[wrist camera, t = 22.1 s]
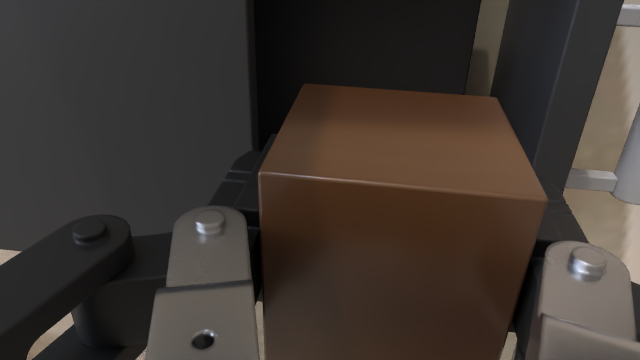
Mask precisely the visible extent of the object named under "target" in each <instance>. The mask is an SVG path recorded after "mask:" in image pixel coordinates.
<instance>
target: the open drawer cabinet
mask: <svg viewBox="0 0 640 360" xmlns="http://www.w3.org/2000/svg"><path fill="white" fill-rule="evenodd" d="M623 2H624V0H510V1H509V6H508V11H507V16H506V21H505V25H504V30H503V35H502V40H501V45H500V49H499V54H498V59H497V64H496V69H495V73H494V78H493V83H492V88H491V93H490V97H496V98H498V100H499V102H500V104H501V106H502V108H503V110H504V112H505V114H506V116H507V118H508V120H509V122H510V124H511V126H512V128H513V130H514V132H515V134H516V136H517V138H518V140H519V142H520V144H521V146H522V148H523V150H524V152H525V154H526V156H527V158H528V160H529V162H530V164H531V166H532V168H533V170H534V172H535V174H536V176H542V177H544V178H546V179H547V180H548V181H550V182H551V183H552V184H553V185H555V186H556V187H557V188H559V190H560V192H561V194H563V191H564V188H573V189H585V190H596V191H607V192H610V194H611V195H612V196H614V197H615V198H617V199H619V200H621V201H623V202H626V203H630V204H635V205H640V104H639V107H638V110H637V112H636V115H635V118H634V120H633V123H632V126H631V129H630V131H629V134H628V137H627V139H626V142H625V145H624V148H623V150H622V153H621V156H620V158H619V161H618V164H617V167H616V169H615V172H614V173H613V172H607V171H595V170H583V169H571V166H572V163H573V160H574V157H575V153H576V150H577V147H578V144H579V141H580V138H581V135H582V131H583V128H584V125H585V122H586V119H587V116H588V112H589V109H590V106H591V103H592V100H593V97H594V94H595V90H596V87H597V84H598V81H599V78H600V75H601V71H602V68H603V65H604V62H605V59H606V56H607V53H608V49H609V46H610V43H611V40H612V37H613V34H614V31H615V27H616V26H629V27H630V26H632V27H640V5H635V4H623ZM480 4H481V0H254V25H255V52H256V80H257V107H258V135H259V151H260V152H262V151H263V149H264V147H265V145H266V144H267V142H268V140H269V138H270V136H271V134H278V133H279V131H280V129H281V127H282V125H283V123H284V121H285V119H286V117H287V115H288V113H289V111H290V109H291V108H292V106H293V104H294V102H295V100H296V98H297V96H298V94H299V92H300V90H301V88H302V86H303V84H319V85H333V86H347V87H361V88H375V89H388V90H402V91H416V92H430V93H444V94H457V95H464V93H465V87H466V81H467V76H468V70H469V65H470V59H471V54H472V48H473V43H474V37H475V32H476V26H477V21H478V15H479V10H480Z"/></svg>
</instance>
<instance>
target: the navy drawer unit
mask: <svg viewBox="0 0 640 360" xmlns="http://www.w3.org/2000/svg"><path fill="white" fill-rule="evenodd" d="M248 151H259V135H258V107H257V80H256V52H255V25H254V0H0V249H5V250H14V251H24V250H26V249H27V248H29V247H30V246H32V245H34V244H35V243H37V242H38V241H40V240H41V239H43V238H45V237H46V236H48V235H49V234H51V233H53V232H54V231H56V230H57V229H59V228H60V227H62V226H64V225H65V224H67V223H69V222H71V221H74V220H76V219H79V218H82V217H86V216H92V215H114V216H118V217H121V218H123V219H124V220H126V221H127V222H128V223H129V225H130V229H131V234H132V237H133V236H143V235H153V234H162V233H168V232H173V227H174V224H175V222H176V220H177V219H178V218H179V217H180V216H182V215H183V214H184V213H186V212H188V211H190V210H193V209H195V208H199V207H203V206H207V205H208V203H209V202H210V200H211V199H212V197H213V195H214V194H215V192H216V191H217V189H218V187H219V186H220V184H221V182H222V181H224V178H225V176H226V174H227V173H228V172H229V170H230V168H231V166H232V165H233V163H234V162H235V160H236V159H237V158H239V157H240V156H242V155H244V154H245V153H247V152H248Z"/></svg>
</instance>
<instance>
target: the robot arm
mask: <svg viewBox="0 0 640 360" xmlns="http://www.w3.org/2000/svg"><path fill="white" fill-rule="evenodd" d="M277 135H278V134H271V136H270V138H269V140H268V142H267V144H266V145H265V147H264V149H263V151H262V152H260V151H248V152H247V153H245V154H244V155H242V156H240V157H239V158H237V159H236V160H235V162H234V163H233V165H232V166H231V168H230V170H229V172H228V173H227V174H226V176H225V178H224V181H222V182H221V184H220V186H219V187H218V189H217V191H216V192H215V194H214V195H213V197H212V199H211V200H210V202H209V203H208V205H207V206H203V207H199V208H195V209H193V210H190V211H188V212H186V213H184V214H183V215H182V216H180V217H179V218H178V219H177V220H176V222H175V224H174V227H173V232H168V233H162V234H153V235H143V236H133V237H132V234H131V229H130V225H129V223H128V222H127V221H126V220H124V219H123V218H121V217H118V216H114V215H92V216H86V217H82V218H79V219H76V220H74V221H71V222H69V223H67V224H65V225H64V226H62V227H60V228H59V229H57V230H56V231H54V232H53V233H51V234H49V235H48V236H46V237H45V238H43V239H41V240H40V241H38V242H37V243H35V244H34V245H32V246H30V247H29V248H27V249H26V250H24V251H22V252H21V253H19V254H18V255H16V256H15V257H13V258H11V259H10V260H8V261H7V262H5V263H4V264H2V265H0V360H26V358H27V355H28V352H29V350H30V348H31V347H32V345H33V344H34V342H35V341H36V340H37V339H38V338H39V337H40V336H41V335H43V334H44V333H45V332H46V331H47V330H49V329H50V328H51V327H52V326H54V325H55V324H56V323H57V322H58V321H60V320H61V319H62V318H63V317H65V316H66V315H67V314H68V313H70V312H71V314H72V317H73V321H74V324H73V325H72V326H71V327H70V328H69V329H68V330H66V331H65V332H64V333H63V334H62V335H60V336H59V337H58V338H57V339H56V340H55V341H53V342H52V343H51V344H50V345H49V346H47V347H46V348H45V349H44V350H43V351H42V352H40V353H39V354H38V355H37V356H36V357H34V358H33V359H32V360H135V359H136V358H137V357H138V356H139V355H140V354H141V353H142V352H143V351H144V350H145V348H146V347H147V350H146V357H145V360H260V358H259V346H258V335H257V324H256V313H255V305H256V302H257V301H260V302H263V301H262V274H261V248H260V222H259V195H258V172H259V170H260V168H261V166H262V164H263V162H264V160H265V158H266V156H267V154H268V152H269V150H270V148H271V147H272V145H273V143H274V141H275V139H276V137H277ZM537 178H538V180H539V182H540V184H541V186H542V188H543V190H544V192H545V194H546V196H547V198H548V202H547V205H546V209H545V212H544V215H543V219H542V222H541V225H540V229H539V232H538V235H537V239H536V242H535V245H534V249H533V252H532V255H531V259H530V262H529V265H528V269H527V272H526V275H525V278H524V282H523V285H522V288H521V292H520V295H519V298H518V302H517V305H516V308H515V312H514V315H513V318H512V322H511V325H510V328H509V332H515V333H516V336H517V343H516V346H515V349H514V353H513V356H512V360H640V285H639V284H636V283H633V282H631V280H630V273H629V271H628V269H627V267H626V266H625V264H624V263H623V262H622V261H621V260H620V259H619V258H617V257H616V256H614V255H613V254H611V253H610V252H608V251H606V250H604V249H602V248H600V247H597V246H595V245H592V244H589V242H588V240H587V238H586V237H585V235H584V233H583V231H582V230H581V228H580V226H579V224H578V222H577V221H576V219H575V217H574V215H572V214H571V213H572V212H571V210H570V208H569V206H568V204H566V201H565V199H564V197H563V195H562V194H561V192H560V190H559V188H557V187H556V186H555V185H553V184H552V183H551V182H550V181H548V180H547V179H546V178H544V177H542V176H537Z"/></svg>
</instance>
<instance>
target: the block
mask: <svg viewBox="0 0 640 360" xmlns="http://www.w3.org/2000/svg"><path fill="white" fill-rule="evenodd" d="M258 195H259V222H260V248H261V274H262V301H263V327H264V353H265V360H500V358H501V355H502V351H503V348H504V345H505V341H506V338H507V335H508V332H509V328H510V325H511V322H512V318H513V315H514V312H515V308H516V305H517V302H518V298H519V295H520V292H521V288H522V285H523V282H524V278H525V275H526V272H527V269H528V265H529V262H530V259H531V255H532V252H533V249H534V245H535V242H536V239H537V235H538V232H539V229H540V225H541V222H542V219H543V215H544V212H545V209H546V205H547V202H548V198H547V196H546V194H545V192H544V190H543V188H542V186H541V184H540V182H539V180H538V178H537V176H536V174H535V172H534V170H533V168H532V166H531V164H530V162H529V160H528V158H527V156H526V154H525V152H524V150H523V148H522V146H521V144H520V142H519V140H518V138H517V136H516V134H515V132H514V130H513V128H512V126H511V124H510V122H509V120H508V118H507V116H506V114H505V112H504V110H503V108H502V106H501V104H500V102H499V100H498V98H496V97H485V96H471V95H457V94H444V93H430V92H416V91H402V90H388V89H375V88H361V87H347V86H333V85H319V84H303V86H302V88H301V90H300V92H299V94H298V96H297V98H296V100H295V102H294V104H293V106H292V108H291V109H290V111H289V113H288V115H287V117H286V119H285V121H284V123H283V125H282V127H281V129H280V131H279V133H278V135H277V137H276V139H275V141H274V143H273V145H272V147H271V148H270V150H269V152H268V154H267V156H266V158H265V160H264V162H263V164H262V166H261V168H260V170H259V172H258Z"/></svg>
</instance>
